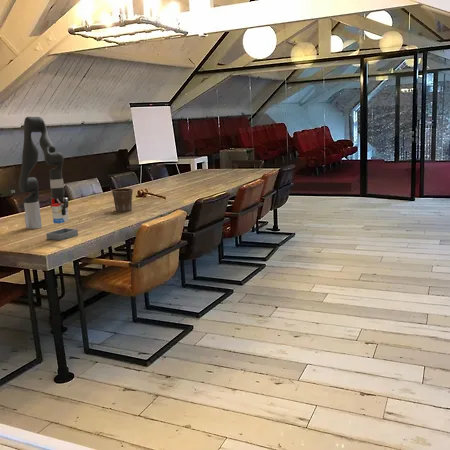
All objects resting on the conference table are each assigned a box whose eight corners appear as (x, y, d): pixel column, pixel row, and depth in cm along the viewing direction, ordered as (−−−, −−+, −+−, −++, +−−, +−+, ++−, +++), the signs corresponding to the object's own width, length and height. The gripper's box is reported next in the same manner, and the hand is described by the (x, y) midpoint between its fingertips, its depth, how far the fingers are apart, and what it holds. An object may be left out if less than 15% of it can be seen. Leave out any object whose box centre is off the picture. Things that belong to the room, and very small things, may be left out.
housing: (46, 239, 290) (46, 233, 289) (65, 233, 302) (64, 228, 301) (59, 240, 285) (59, 234, 284) (78, 235, 297) (77, 229, 297)
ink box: (59, 223, 287) (57, 199, 284) (53, 223, 289) (50, 198, 286) (69, 220, 295) (66, 196, 292) (62, 220, 297) (60, 196, 293)
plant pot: (137, 211, 371) (135, 190, 367) (115, 213, 364) (114, 192, 361) (131, 207, 385) (129, 187, 382) (111, 210, 379) (109, 189, 375)
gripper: (70, 186, 287) (73, 214, 291) (53, 185, 294) (56, 213, 297) (61, 187, 281) (64, 216, 284) (43, 187, 287) (46, 215, 291)
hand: (60, 214), depth 291 cm, fingers closed on ink box, 5 cm apart
